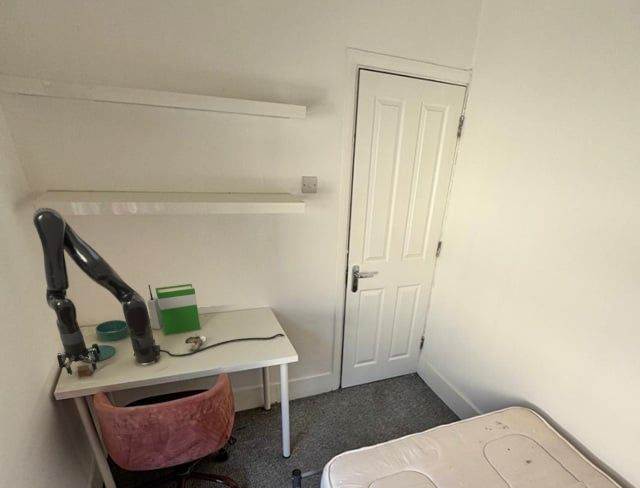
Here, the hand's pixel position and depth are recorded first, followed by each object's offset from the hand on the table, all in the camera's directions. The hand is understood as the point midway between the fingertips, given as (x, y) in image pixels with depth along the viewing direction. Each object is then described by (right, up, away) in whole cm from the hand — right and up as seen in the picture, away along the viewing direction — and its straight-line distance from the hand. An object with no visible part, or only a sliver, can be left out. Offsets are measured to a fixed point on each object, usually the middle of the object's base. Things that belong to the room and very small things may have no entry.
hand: (83, 371), depth 170 cm
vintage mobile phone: (+11, +22, +42) cm, 49 cm away
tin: (-6, +17, +31) cm, 36 cm away
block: (0, -2, +1) cm, 2 cm away
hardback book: (+24, +21, +43) cm, 53 cm away
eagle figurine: (+38, +11, +28) cm, 49 cm away
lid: (-4, +8, +15) cm, 17 cm away
